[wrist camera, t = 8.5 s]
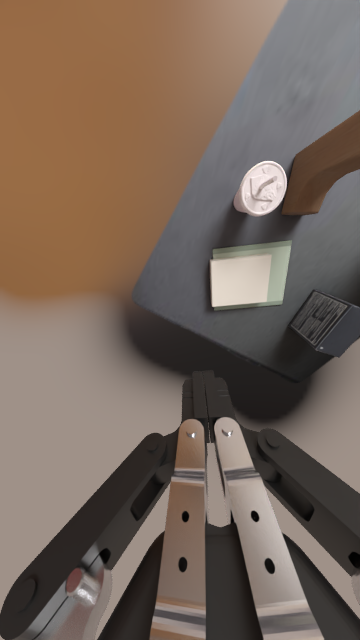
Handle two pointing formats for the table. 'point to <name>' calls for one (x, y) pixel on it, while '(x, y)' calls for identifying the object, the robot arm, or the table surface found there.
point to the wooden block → (322, 167)
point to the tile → (239, 279)
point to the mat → (277, 269)
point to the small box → (327, 323)
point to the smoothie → (261, 189)
